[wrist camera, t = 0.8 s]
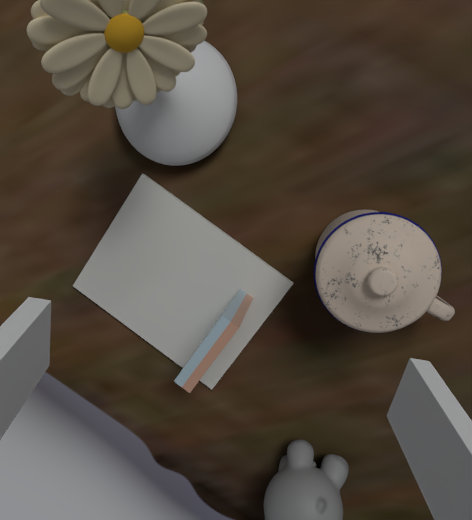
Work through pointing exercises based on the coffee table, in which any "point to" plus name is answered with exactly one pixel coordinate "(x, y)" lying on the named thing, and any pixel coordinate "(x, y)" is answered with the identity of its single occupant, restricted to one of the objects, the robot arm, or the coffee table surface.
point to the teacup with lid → (378, 272)
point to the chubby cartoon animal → (306, 486)
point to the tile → (214, 341)
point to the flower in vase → (142, 70)
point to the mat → (177, 277)
